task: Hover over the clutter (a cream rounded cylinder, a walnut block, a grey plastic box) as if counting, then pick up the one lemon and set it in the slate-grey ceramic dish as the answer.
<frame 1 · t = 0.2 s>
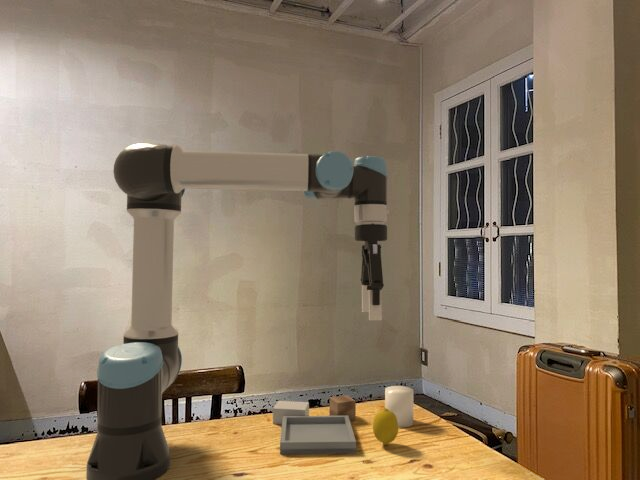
hand: (371, 316, 110), 28 cm above the table, tool pointing down, fingers open, 13 cm apart
dish: (316, 438, 108), on the table
lemon: (385, 445, 105), on the table
grey box: (291, 421, 120), on the table
walnut block: (342, 418, 122), on the table
cream rounded cylinder: (399, 422, 119), on the table
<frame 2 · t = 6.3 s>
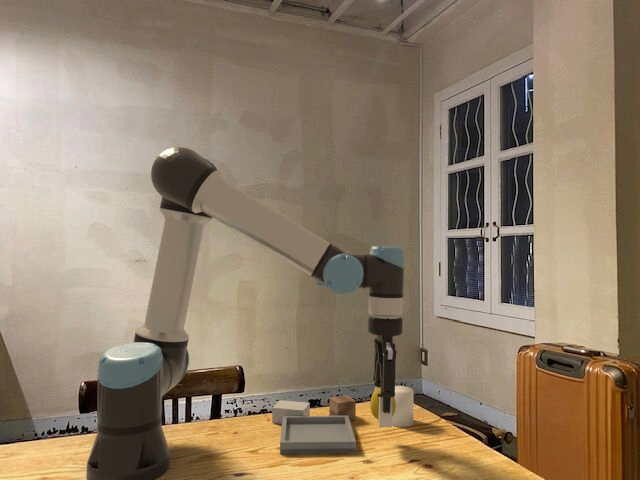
hand: (382, 421, 105), 5 cm above the table, tool pointing down, fingers closed on lemon, 5 cm apart
lemon: (382, 423, 105), point 5 cm above the table, touching gripper
everything else where it was.
when the fingers open (1 cm above the table, at t = 10.1 s): lemon stays where it is, resting on dish.
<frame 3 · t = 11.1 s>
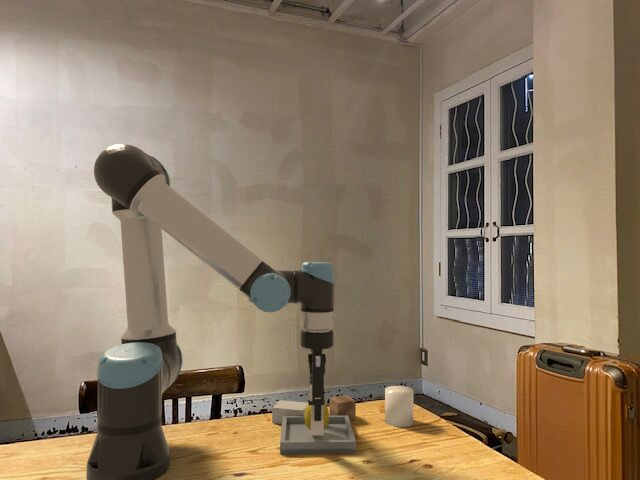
hand: (316, 423, 109), 3 cm above the table, tool pointing down, fingers open, 13 cm apart
lemon: (316, 435, 108), point 1 cm above the table, touching dish
everything else where it was.
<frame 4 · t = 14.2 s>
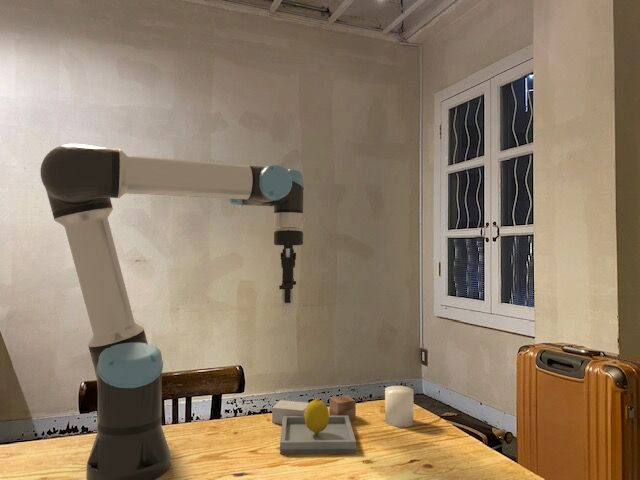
hand: (288, 312, 123), 27 cm above the table, tool pointing down, fingers open, 13 cm apart
nothing on the table moved.
at the end: lemon inside the target area on the dish (0.0 cm from its centre), point 0.8 cm above the dish's base; the gripper is holding nothing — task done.
